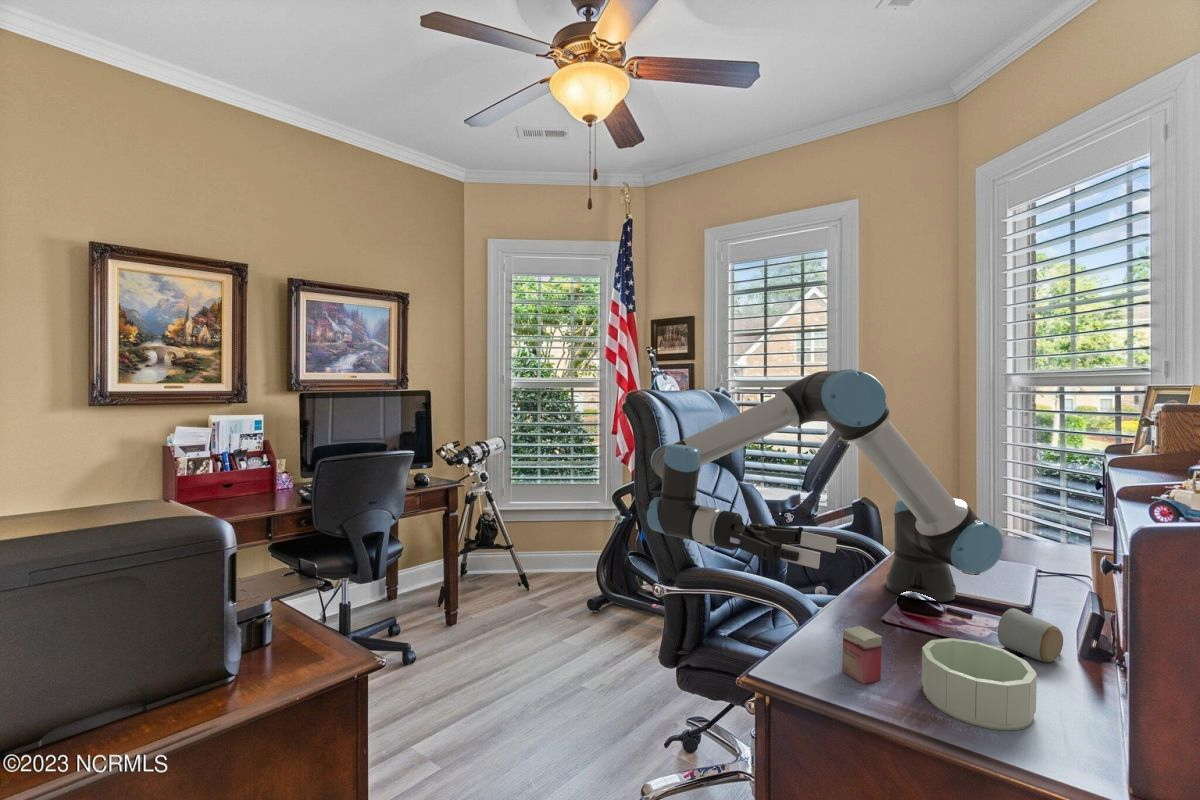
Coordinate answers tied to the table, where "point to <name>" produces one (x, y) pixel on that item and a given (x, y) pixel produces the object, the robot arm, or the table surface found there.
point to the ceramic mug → (1030, 635)
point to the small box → (862, 654)
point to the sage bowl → (979, 684)
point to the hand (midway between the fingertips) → (828, 552)
